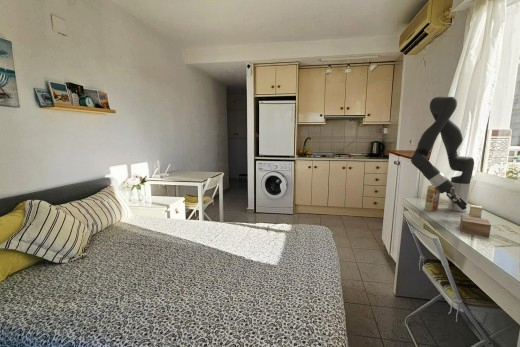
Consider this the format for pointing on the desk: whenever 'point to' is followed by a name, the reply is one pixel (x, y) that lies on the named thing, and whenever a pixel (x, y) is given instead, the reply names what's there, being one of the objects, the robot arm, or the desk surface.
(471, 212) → the birch block
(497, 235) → the desk surface
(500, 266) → the desk surface
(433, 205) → the candy box
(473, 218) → the block
